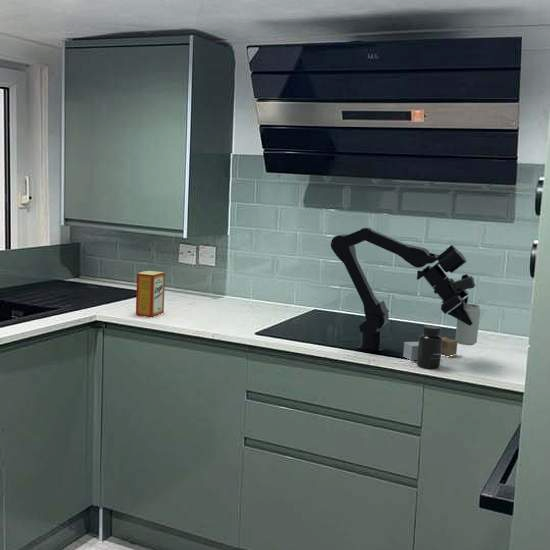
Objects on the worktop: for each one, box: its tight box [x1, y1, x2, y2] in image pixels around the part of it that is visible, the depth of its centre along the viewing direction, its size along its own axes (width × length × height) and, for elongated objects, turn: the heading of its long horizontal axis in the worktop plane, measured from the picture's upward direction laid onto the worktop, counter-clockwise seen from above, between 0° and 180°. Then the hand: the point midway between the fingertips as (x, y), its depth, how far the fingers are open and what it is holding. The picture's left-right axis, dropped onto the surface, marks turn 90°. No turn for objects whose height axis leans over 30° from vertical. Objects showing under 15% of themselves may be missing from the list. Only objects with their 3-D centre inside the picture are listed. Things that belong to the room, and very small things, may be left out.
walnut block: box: [441, 336, 458, 356], centre depth 230 cm, size 5×5×5 cm
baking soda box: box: [135, 270, 166, 318], centre depth 267 cm, size 10×6×16 cm
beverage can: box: [454, 302, 481, 346], centre depth 219 cm, size 6×6×12 cm
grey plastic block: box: [402, 341, 419, 362], centre depth 222 cm, size 5×5×5 cm
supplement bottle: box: [416, 325, 443, 370], centre depth 214 cm, size 7×7×12 cm
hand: (472, 322), depth 218 cm, fingers closed on beverage can, 6 cm apart
